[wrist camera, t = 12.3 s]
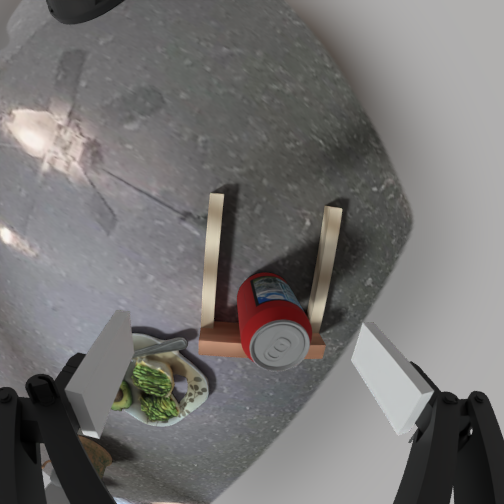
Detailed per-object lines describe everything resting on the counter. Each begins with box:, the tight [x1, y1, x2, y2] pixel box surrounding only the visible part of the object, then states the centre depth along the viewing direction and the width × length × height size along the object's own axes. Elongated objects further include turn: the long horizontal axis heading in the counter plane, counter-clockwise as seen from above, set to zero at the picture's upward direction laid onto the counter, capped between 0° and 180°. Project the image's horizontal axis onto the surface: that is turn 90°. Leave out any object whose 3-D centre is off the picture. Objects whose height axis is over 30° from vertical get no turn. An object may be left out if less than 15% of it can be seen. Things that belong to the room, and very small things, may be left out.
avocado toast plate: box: [111, 333, 210, 427], centre depth 35 cm, size 19×18×5 cm
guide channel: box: [199, 193, 342, 359], centre depth 32 cm, size 18×15×5 cm
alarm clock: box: [45, 469, 70, 504], centre depth 37 cm, size 16×10×18 cm, turn 110°
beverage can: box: [237, 273, 312, 372], centre depth 30 cm, size 7×7×12 cm
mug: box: [41, 435, 112, 480], centre depth 35 cm, size 12×18×12 cm, turn 38°
